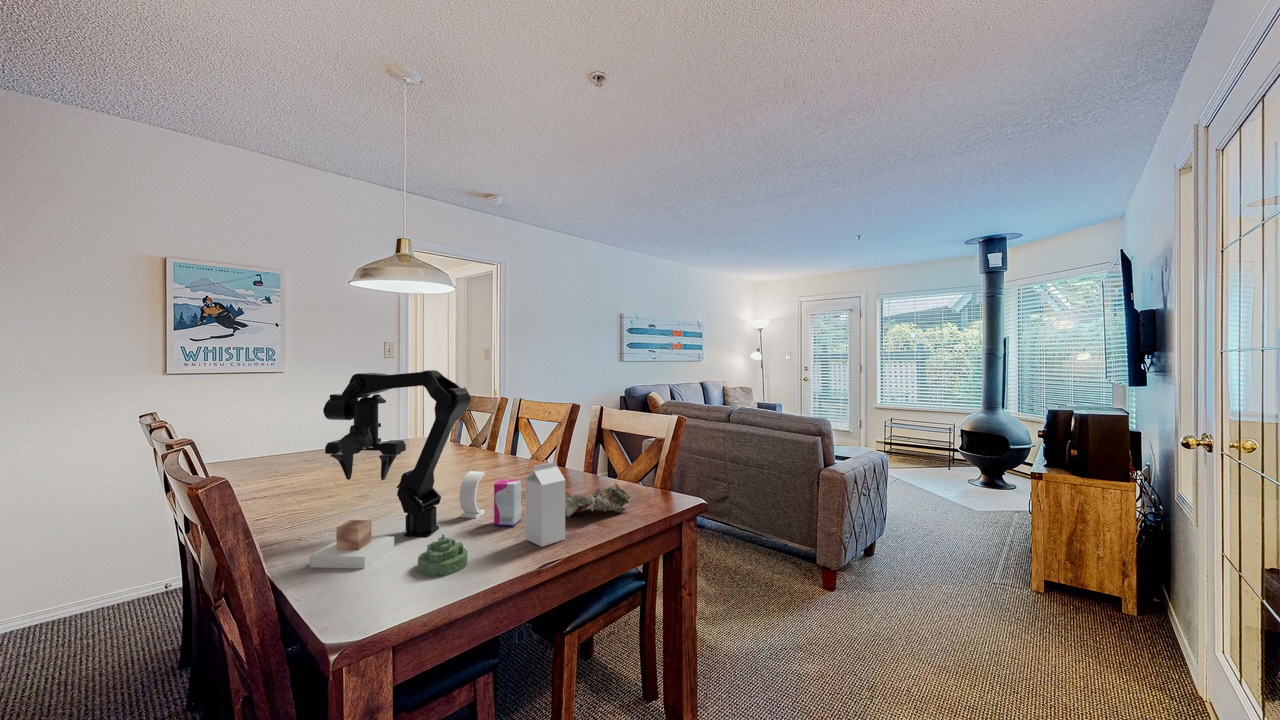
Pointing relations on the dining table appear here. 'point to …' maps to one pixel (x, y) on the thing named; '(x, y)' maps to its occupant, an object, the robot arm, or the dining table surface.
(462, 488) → the headphone stand
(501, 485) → the supplement box
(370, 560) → the grey plate
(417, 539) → the dining table surface
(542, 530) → the milk carton
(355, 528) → the terracotta cube
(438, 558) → the decorative artifact
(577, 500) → the grey furry oblong lump
